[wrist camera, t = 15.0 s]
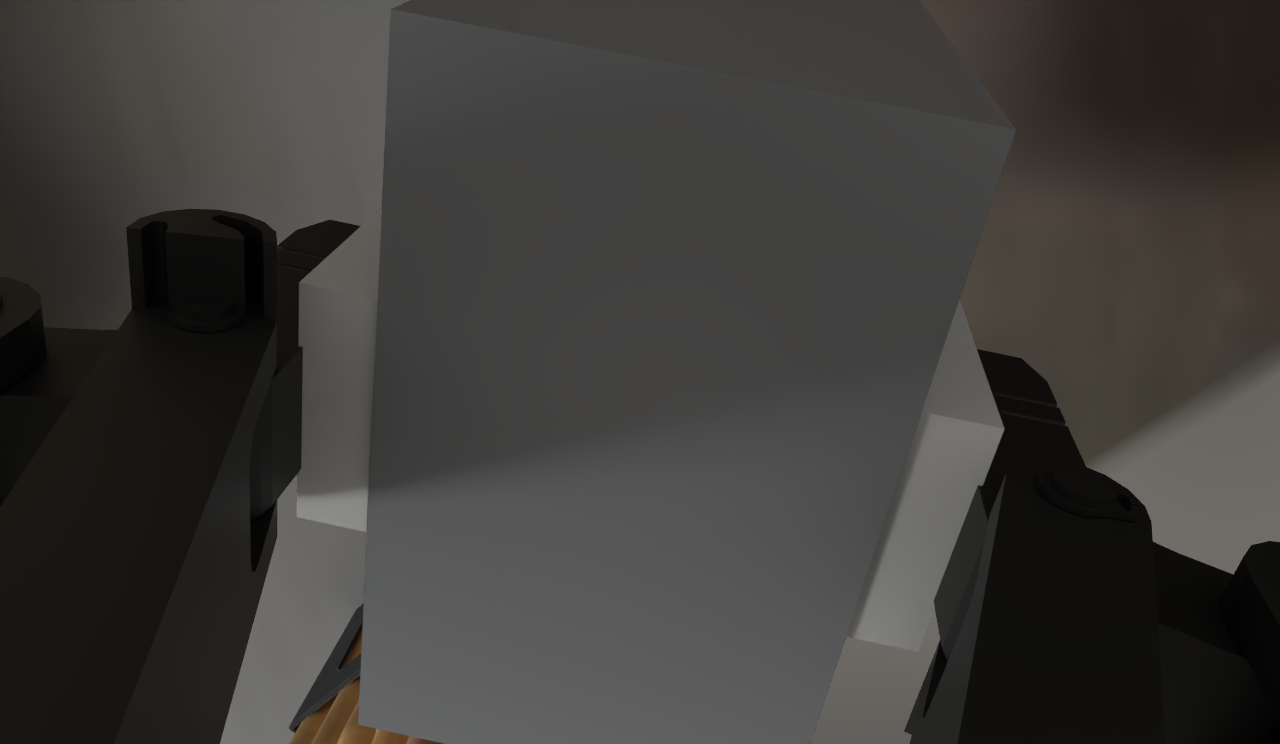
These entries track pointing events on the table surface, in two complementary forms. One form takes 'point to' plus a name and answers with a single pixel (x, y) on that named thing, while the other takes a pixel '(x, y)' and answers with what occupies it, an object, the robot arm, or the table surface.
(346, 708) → the ammunition clip
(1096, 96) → the table surface
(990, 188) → the grey taped box
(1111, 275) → the table surface
